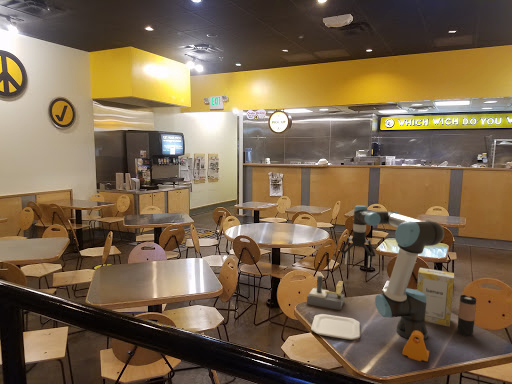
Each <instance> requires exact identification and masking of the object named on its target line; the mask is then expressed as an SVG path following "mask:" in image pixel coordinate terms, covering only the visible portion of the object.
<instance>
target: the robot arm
mask: <svg viewBox="0 0 512 384" xmlns="http://www.w3.org/2000/svg"><path fill="white" fill-rule="evenodd" d="M367 225H369V226H372V227H375V226H377V225H388V226H392V227H395V228H396V230H395V233H394V236H395V237H394V239H395V241H396V243H397V247H398V248H399V250H398V251H397V252H398V253H397V256H396V259H395V263H394V266H393V269H392V271H391V275H390V277H389V282H388V285H387V286H385V287H384V288H383V290H382V293H379V294H377V295H376V296H375V299H374V300H375V301H374V302H375V303H374V304H375V308H376V310H377V313H378V314H379V315H380V316H381V317H383V318H385V319H387V318H390V319H391V318H399V317H400V318H399V321H398V322H397V325H396V333H397V334H398V335H400V336H401V337H403V338H406V339H408V340H409V338H410V336H411V334H412V332H413V331H420V332H421V333H422V334H423V336H424V339H423V340H424V341H425V340H427V338H428V330H427V326H426V321H425V312H426V303H427V302H426V295H425V294H424V293H422V292H420V291H417V289H414V288H413V289H412V288H408V285H409V282H410V280H411V276H412V273H413V270H414V269H415V265H416V261H417V258H418V255H420V254H422V253H423V252H424V249H425V247H429V246H430V247H431V246H432V247H433V246H436V245H438V244H440V243H441V242H442V240H444V238H445V231H444V227H443V226H442V225H441V224H440V223H438V222H436V221H432V220H420V219H417V218H413V217H411V216H410V217H409V216H407V215H403V214H400V213H399V212H398V211H392V210H391V211H375V210H374V211H373V210H372V211H370V210H368V206H367V205H355V206H354V210H353V223H352V230H353V231H352V237H349V236H348V237H347V238H346V241H345V243H344V245H343V246H342V248H341V249H340V253H342V254H343V256H342V257H343V259H344V265H347V263H348V252H349V250H351V249H352V248H353V247H354V246H355V247H360V248H361V247H362V248H363V249H364V250H365V252H366V253H367V255H368V260H367V268H370V265H371V263H372V262H373V257H376V252H375V250H374V248H373V246H372V242H371V239H368V240H367V239H366V234H367V233H366V231H367ZM350 242H352V243H351V244H350V245H349V246H348V244H349V243H350ZM366 244H367V245H368V247H369V249H370V250H369V249H368V247H367V245H366ZM347 246H348V247H347ZM346 247H347V248H346ZM415 339H418V340H419V338H418V337H415Z"/></svg>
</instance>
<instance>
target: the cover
mask: <svg viewBox="0 0 512 384" xmlns="http://www.w3.org/2000/svg"><path fill="white" fill-rule="evenodd" d="M316 277H317V278H316V287H313V288H312V289H311V290H310V291H311V292H310V291H309V293H308V294H309V296H314V297H320V298H326V296H327V294H328V293H325V291H329V290H328V289H323V277H324V276H322V275H317V276H316Z"/></svg>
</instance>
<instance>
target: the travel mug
mask: <svg viewBox="0 0 512 384" xmlns="http://www.w3.org/2000/svg"><path fill="white" fill-rule="evenodd" d="M459 298H460V299H459V305H458V316H457V333H458V334H459V335H461V336H464V337H473V335H474V334H473V333H474V327H475V326H474V325H475V320H476V318H475V317H476V308H477V298H476V297H474V296H471V295H470V296H467V295H466V294H461V295H460V297H459Z"/></svg>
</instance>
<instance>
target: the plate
mask: <svg viewBox="0 0 512 384" xmlns="http://www.w3.org/2000/svg"><path fill="white" fill-rule="evenodd" d="M310 329H311V331H312V332H314V333H316V334H317V335H320V336H324V337H331V338H336V339H341V340H356V339H359V338H361V323H360V321H358V320H357V319H354V318H352V317H345V316H339V315H333V314H325V313H319V314H315V315H314V317H313V321H312V323H311V328H310Z"/></svg>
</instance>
